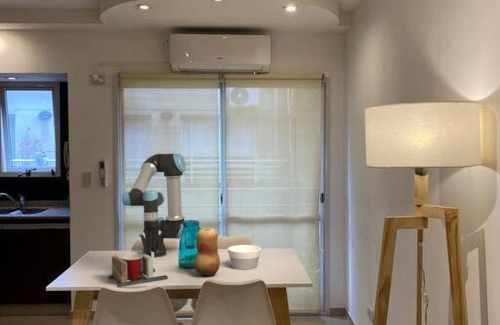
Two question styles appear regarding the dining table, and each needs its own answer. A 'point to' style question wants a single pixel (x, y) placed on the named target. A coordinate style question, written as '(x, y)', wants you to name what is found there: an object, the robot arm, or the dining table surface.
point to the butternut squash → (207, 252)
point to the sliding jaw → (146, 265)
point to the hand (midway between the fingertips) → (152, 264)
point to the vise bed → (121, 275)
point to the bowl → (244, 256)
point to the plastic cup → (133, 265)
